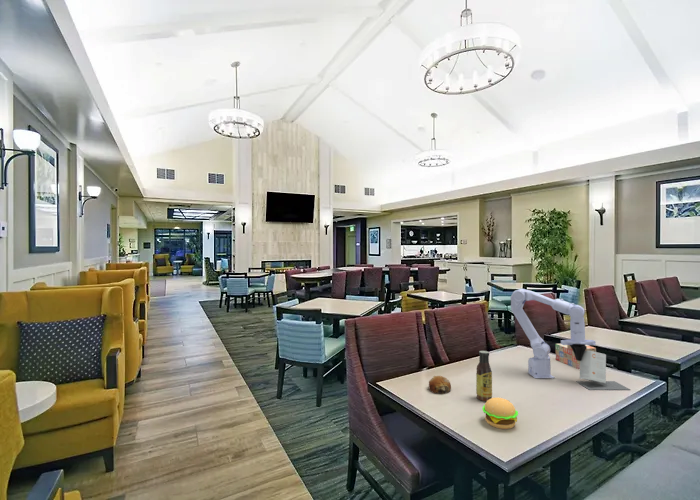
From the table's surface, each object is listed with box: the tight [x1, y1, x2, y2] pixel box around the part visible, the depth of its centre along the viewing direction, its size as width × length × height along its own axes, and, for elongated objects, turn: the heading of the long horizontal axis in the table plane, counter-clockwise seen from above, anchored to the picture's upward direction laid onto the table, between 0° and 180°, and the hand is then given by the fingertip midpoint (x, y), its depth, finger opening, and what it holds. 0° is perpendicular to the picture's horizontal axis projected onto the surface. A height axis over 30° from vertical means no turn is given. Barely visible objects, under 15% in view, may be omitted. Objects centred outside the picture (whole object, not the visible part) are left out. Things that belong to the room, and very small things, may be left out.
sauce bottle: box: [475, 350, 493, 402], centre depth 147 cm, size 6×6×20 cm
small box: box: [579, 350, 607, 383], centre depth 160 cm, size 8×6×13 cm
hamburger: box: [482, 397, 519, 430], centre depth 126 cm, size 12×12×9 cm
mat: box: [575, 380, 631, 391], centre depth 158 cm, size 18×10×1 cm, turn 86°
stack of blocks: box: [554, 342, 597, 370], centre depth 187 cm, size 21×6×12 cm, turn 8°
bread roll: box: [428, 375, 452, 395], centre depth 158 cm, size 10×10×8 cm
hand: (578, 360), depth 163 cm, fingers closed
